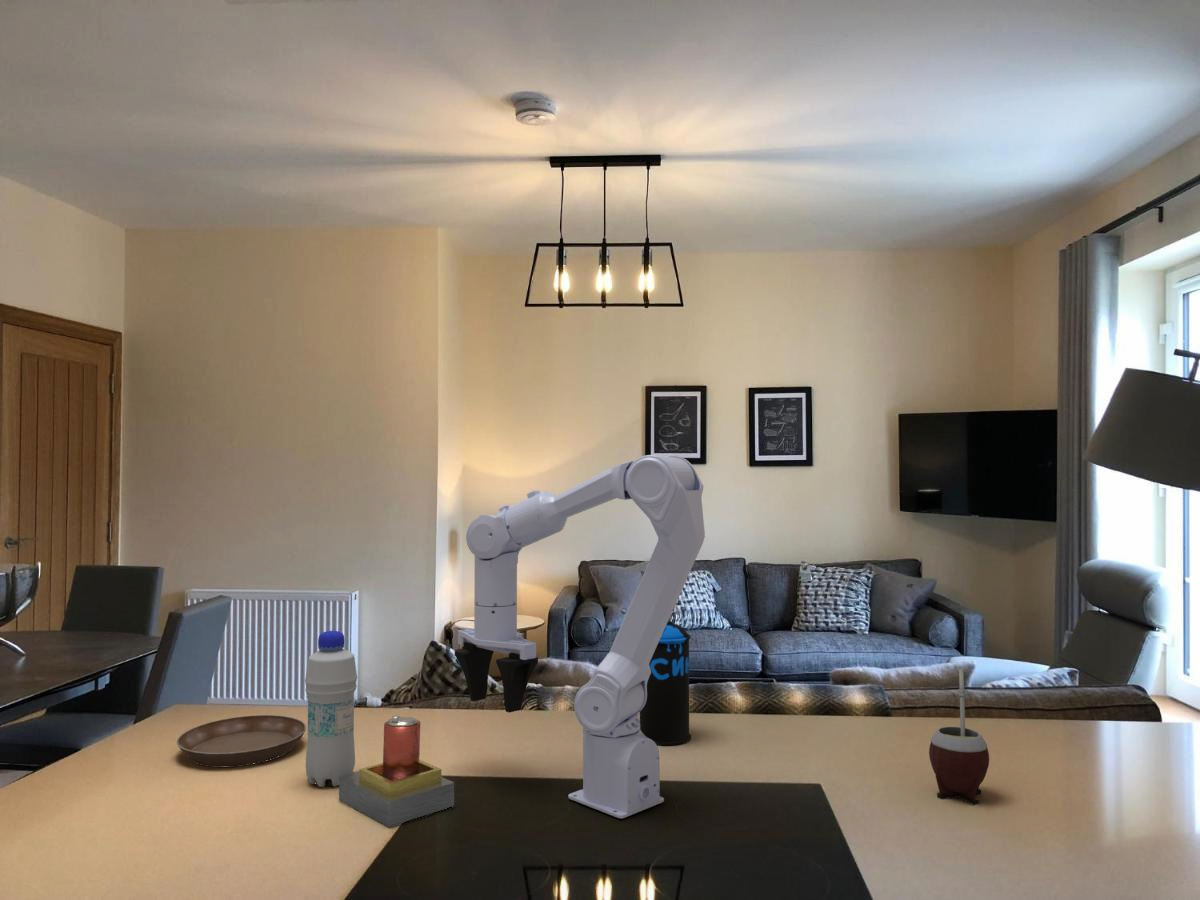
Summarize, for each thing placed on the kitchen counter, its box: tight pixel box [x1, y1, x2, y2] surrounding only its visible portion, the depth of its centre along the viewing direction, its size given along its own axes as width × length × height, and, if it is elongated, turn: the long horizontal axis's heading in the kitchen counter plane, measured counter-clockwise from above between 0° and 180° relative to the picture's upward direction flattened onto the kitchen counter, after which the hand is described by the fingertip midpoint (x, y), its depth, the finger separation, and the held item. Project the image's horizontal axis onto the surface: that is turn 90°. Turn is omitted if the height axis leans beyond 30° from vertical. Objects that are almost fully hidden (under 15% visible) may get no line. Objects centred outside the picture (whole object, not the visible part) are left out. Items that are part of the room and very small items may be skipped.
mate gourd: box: [928, 668, 990, 806], centre depth 111 cm, size 8×8×15 cm
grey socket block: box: [338, 759, 455, 829], centre depth 108 cm, size 14×9×4 cm, turn 45°
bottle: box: [304, 630, 358, 788], centre depth 116 cm, size 7×7×20 cm
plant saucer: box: [176, 714, 307, 767], centre depth 128 cm, size 18×18×3 cm
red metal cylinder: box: [382, 715, 421, 781], centre depth 107 cm, size 4×4×8 cm
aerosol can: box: [639, 615, 692, 747], centre depth 135 cm, size 8×8×20 cm
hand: (495, 705), depth 116 cm, fingers open, 7 cm apart
